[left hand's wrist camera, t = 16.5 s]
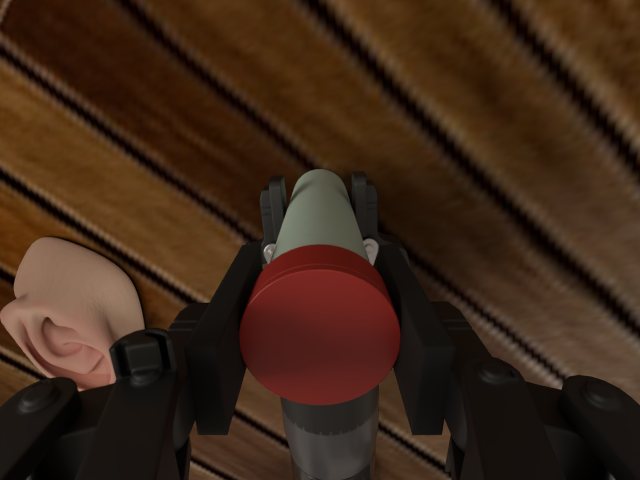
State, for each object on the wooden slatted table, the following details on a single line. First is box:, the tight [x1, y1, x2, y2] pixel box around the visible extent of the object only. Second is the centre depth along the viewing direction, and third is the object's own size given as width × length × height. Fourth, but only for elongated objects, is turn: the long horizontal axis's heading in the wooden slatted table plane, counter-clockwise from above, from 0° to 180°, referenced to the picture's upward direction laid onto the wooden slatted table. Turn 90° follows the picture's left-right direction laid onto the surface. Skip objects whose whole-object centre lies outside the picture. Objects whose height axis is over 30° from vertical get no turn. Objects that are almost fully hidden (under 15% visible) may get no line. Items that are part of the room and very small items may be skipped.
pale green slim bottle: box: [270, 169, 370, 263], centre depth 20 cm, size 4×4×18 cm
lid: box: [239, 244, 401, 405], centre depth 11 cm, size 5×5×2 cm
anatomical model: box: [0, 237, 145, 391], centre depth 30 cm, size 13×4×12 cm
